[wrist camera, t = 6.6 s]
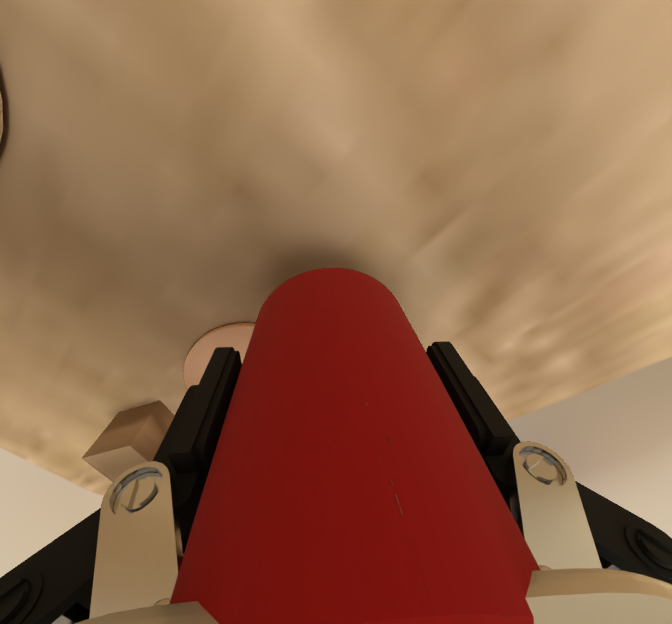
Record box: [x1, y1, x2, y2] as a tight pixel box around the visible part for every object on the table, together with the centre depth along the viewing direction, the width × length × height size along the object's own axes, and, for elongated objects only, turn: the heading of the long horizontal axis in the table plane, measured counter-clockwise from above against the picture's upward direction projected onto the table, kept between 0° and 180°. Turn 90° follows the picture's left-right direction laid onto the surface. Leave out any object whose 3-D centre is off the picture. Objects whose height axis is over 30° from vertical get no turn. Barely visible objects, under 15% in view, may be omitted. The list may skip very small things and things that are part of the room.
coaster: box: [183, 323, 256, 389], centre depth 21 cm, size 10×10×1 cm
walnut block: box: [82, 401, 174, 482], centre depth 22 cm, size 4×4×4 cm
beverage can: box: [170, 268, 541, 624], centre depth 8 cm, size 7×7×12 cm
